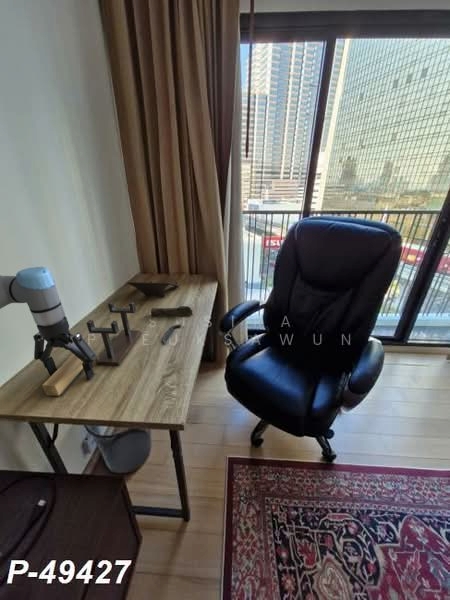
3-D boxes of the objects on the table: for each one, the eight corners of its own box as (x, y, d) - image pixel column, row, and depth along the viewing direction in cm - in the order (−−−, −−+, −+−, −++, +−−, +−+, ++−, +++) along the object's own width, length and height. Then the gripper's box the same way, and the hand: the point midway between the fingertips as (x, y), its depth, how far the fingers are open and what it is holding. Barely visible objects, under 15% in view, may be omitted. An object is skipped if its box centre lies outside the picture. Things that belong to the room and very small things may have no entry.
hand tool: (151, 318, 117) (149, 309, 114) (153, 313, 120) (152, 305, 118) (191, 318, 116) (190, 309, 114) (192, 313, 119) (192, 305, 117)
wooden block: (47, 397, 75) (42, 385, 73) (83, 358, 91) (79, 347, 89) (60, 398, 75) (54, 385, 73) (93, 358, 91) (90, 347, 89)
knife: (173, 324, 110) (172, 323, 110) (181, 325, 110) (181, 324, 109) (159, 343, 98) (159, 342, 98) (169, 344, 97) (168, 343, 97)
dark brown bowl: (182, 297, 149) (182, 282, 149) (169, 297, 126) (170, 279, 126) (144, 296, 151) (145, 281, 151) (126, 295, 128) (126, 278, 128)
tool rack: (94, 364, 88) (82, 326, 81) (120, 332, 106) (112, 298, 99) (121, 365, 87) (110, 327, 80) (142, 333, 105) (136, 299, 98)
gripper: (97, 314, 76) (113, 369, 85) (23, 312, 78) (46, 366, 87) (82, 328, 69) (101, 386, 79) (2, 325, 71) (29, 382, 81)
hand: (72, 375), depth 83 cm, fingers open, 12 cm apart
